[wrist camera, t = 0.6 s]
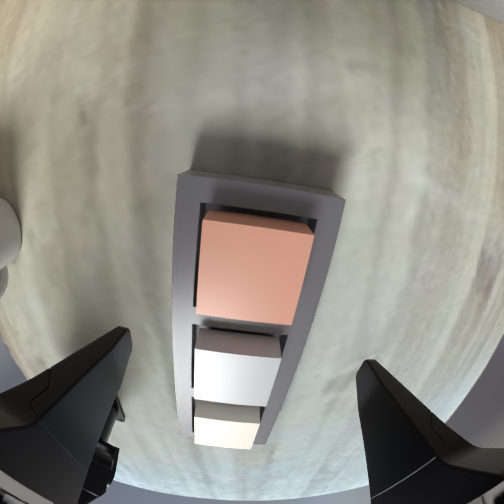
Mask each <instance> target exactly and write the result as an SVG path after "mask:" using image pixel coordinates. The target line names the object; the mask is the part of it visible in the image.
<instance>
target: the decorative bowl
mask: <svg viewBox="0 0 504 504" xmlns="http://www.w3.org/2000/svg"><path fill="white" fill-rule="evenodd" d="M454 1H456V2H458V3H460V4H462V5H464V6H466V7H467V8H470V9H472V10H474V11H476V12H478V13H480V14H482V15H484V16H486V17H489V18H491V19H493V20H496V21H498V22H500V23H503V24H504V0H454Z"/></svg>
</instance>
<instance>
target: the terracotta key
mask: <svg viewBox="0 0 504 504" xmlns="http://www.w3.org/2000/svg"><path fill="white" fill-rule="evenodd" d="M313 239H314V234H313V233H312V231H311V230H310V228H309V227H308V225H307V224H306V223H302V222H296V221H290V220H283V219H277V218H270V217H263V216H256V215H249V214H242V213H235V212H227V211H219V210H212V209H209V211H208V212H207V214H206V215H205V217H204V218H203V223H202V233H201V245H200V258H199V271H198V287H197V304H196V314H201V315H208V316H215V317H222V318H229V319H237V320H245V321H254V322H263V323H273V324H283V325H292V322H293V318H294V314H295V311H296V307H297V303H298V300H299V296H300V292H301V288H302V284H303V281H304V277H305V273H306V269H307V265H308V261H309V256H310V252H311V248H312V244H313Z"/></svg>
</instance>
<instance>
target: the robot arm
mask: <svg viewBox="0 0 504 504" xmlns="http://www.w3.org/2000/svg"><path fill="white" fill-rule="evenodd" d="M131 350H132V340H131V334H130V330H129V329H128V328H125V327H122V326H118V327H116V328H115V329H113V330H111V331H110V332H108V333H106V334H105V335H103V336H101V337H100V338H98V339H96V340H95V341H93V342H91V343H90V344H88V345H86V346H85V347H83V348H82V349H80V350H78V351H77V352H75V353H73V354H72V355H70V356H68V357H67V358H65V359H64V360H62V361H60V362H59V363H57V364H55V365H54V366H52V367H51V368H49V369H47V370H45V371H44V372H42V373H40V374H39V375H37V376H35V377H33V378H32V379H30V380H28V381H26V382H24V383H22V384H20V385H18V386H15V387H13V388H11V389H9V390H7V391H5V392H2V393H0V504H88V503H90V502H91V501H93V500H94V499H96V498H98V497H100V496H102V495H103V494H104V493H105V492H106V487H108V486H109V485H110V484H111V482H112V480H113V478H114V476H115V472H116V466H117V460H118V454H119V448H117V447H114V446H112V445H110V444H109V443H107V441H108V439H109V436H110V433H111V431H112V428H113V425H114V423H115V420H117V421H121V422H124V421H125V418H124V415H123V412H122V410H121V407H120V404H119V401H118V398H117V396H116V395H117V393H118V390H119V388H120V386H121V383H122V380H123V377H124V373H125V370H126V367H127V363H128V360H129V357H130V354H131ZM356 386H357V399H358V411H359V418H360V423H361V429H362V435H363V441H364V448H365V455H366V462H367V470H368V478H369V486H370V496H371V504H504V448H479V447H476V446H474V445H472V444H471V443H469V442H468V441H466V440H465V439H464V438H462V437H461V436H460V435H458V434H457V433H456V432H454V431H453V430H452V429H451V428H450V427H448V426H447V425H446V424H445V423H444V422H442V421H441V420H440V419H439V418H438V417H437V416H436V415H435V414H434V413H432V412H431V411H430V410H429V409H428V408H427V407H426V406H425V405H424V404H423V403H422V402H421V401H419V400H418V399H417V398H416V397H415V396H414V395H413V394H412V393H411V392H410V391H409V390H408V389H406V388H405V387H404V386H403V385H402V384H401V383H400V382H399V381H398V380H397V379H396V378H395V377H393V376H392V375H391V374H390V373H389V372H388V371H387V370H386V369H385V368H384V367H383V366H382V365H380V364H379V363H378V362H377V361H376V360H374V359H367V360H365V361H364V362H363V364H362V365H361V367H360V369H359V370H358V372H357V374H356Z"/></svg>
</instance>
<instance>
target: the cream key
mask: <svg viewBox="0 0 504 504" xmlns="http://www.w3.org/2000/svg"><path fill="white" fill-rule="evenodd" d="M259 425H260V406H250V405H238V404H228V403H220V402H212V401H205V400H198V399H197V403H196V409H195V415H194V434H195V444H202V445H209V446H217V447H226V448H237V449H251V447H252V445H253V442H254V439H255V436H256V434H257V431H258V428H259Z"/></svg>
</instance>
